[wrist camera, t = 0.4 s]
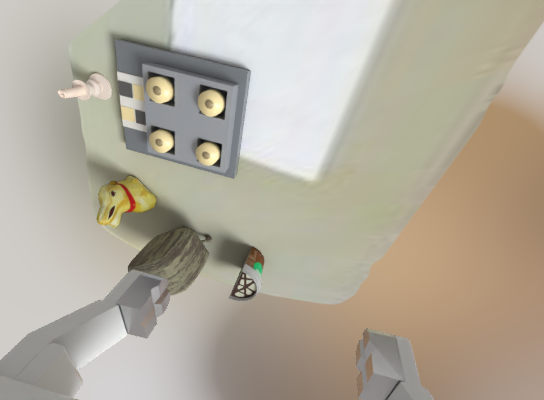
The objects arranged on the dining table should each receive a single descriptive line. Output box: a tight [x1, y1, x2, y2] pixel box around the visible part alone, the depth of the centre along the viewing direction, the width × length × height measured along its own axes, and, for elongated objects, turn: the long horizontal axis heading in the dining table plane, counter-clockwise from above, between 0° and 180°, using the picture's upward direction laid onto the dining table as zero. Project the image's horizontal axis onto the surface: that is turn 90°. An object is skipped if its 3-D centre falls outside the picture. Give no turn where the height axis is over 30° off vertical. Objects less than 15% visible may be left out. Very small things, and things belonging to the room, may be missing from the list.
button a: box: [198, 89, 226, 117], centre depth 49 cm, size 4×4×2 cm
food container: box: [229, 246, 264, 301], centre depth 70 cm, size 12×6×10 cm, turn 158°
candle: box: [58, 73, 112, 101], centre depth 53 cm, size 5×5×10 cm
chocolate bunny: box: [97, 176, 156, 228], centre depth 63 cm, size 7×11×15 cm, turn 36°
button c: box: [146, 76, 175, 103], centre depth 49 cm, size 4×4×2 cm
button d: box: [149, 128, 175, 153], centre depth 55 cm, size 4×4×2 cm
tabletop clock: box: [128, 227, 212, 295], centre depth 63 cm, size 14×9×25 cm, turn 115°
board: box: [114, 39, 251, 178], centre depth 54 cm, size 22×26×5 cm
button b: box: [196, 141, 221, 166], centre depth 54 cm, size 4×4×2 cm
